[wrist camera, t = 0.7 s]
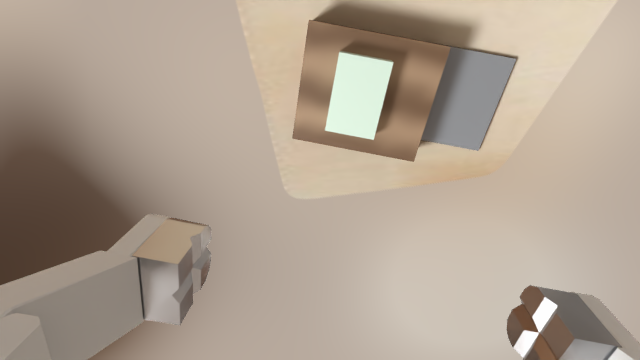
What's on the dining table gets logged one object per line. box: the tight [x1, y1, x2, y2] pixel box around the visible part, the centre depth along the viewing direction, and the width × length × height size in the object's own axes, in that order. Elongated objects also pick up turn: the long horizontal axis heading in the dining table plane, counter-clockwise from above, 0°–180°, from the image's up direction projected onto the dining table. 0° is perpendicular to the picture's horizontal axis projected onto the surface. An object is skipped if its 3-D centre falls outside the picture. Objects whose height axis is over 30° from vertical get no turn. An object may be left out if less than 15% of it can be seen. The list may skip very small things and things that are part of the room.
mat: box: [421, 46, 516, 151], centre depth 42 cm, size 12×8×1 cm
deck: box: [293, 20, 451, 162], centre depth 41 cm, size 14×16×4 cm
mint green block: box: [325, 51, 394, 140], centre depth 39 cm, size 9×6×2 cm, turn 170°
